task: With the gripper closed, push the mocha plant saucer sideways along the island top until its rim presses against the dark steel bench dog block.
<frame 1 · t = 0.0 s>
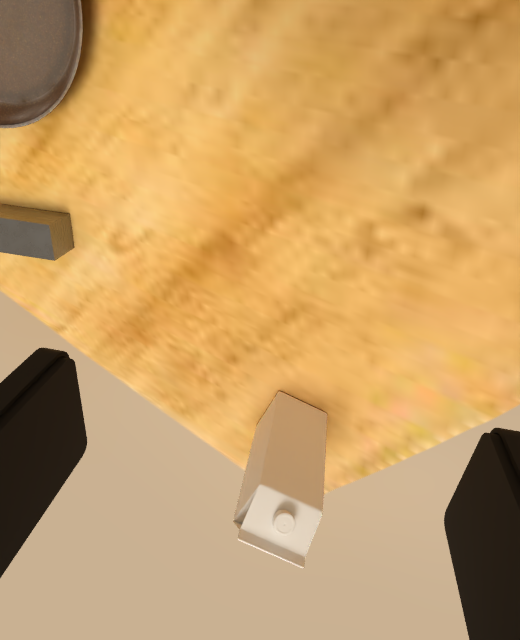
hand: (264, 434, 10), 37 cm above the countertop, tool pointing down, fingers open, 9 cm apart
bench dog: (31, 225, 50), on the countertop
milk carton: (291, 417, 59), on the countertop
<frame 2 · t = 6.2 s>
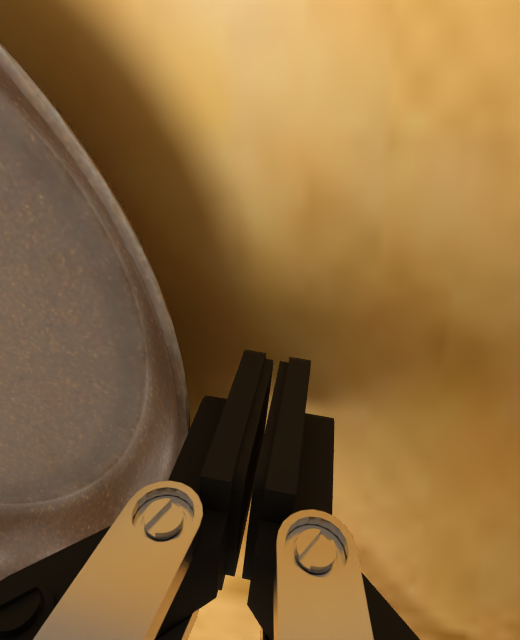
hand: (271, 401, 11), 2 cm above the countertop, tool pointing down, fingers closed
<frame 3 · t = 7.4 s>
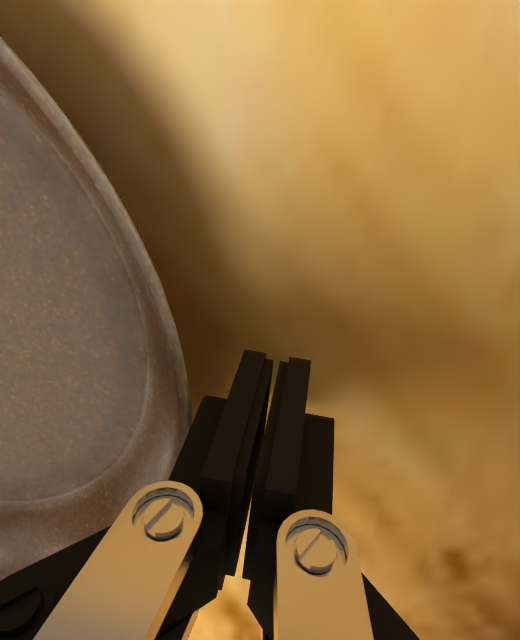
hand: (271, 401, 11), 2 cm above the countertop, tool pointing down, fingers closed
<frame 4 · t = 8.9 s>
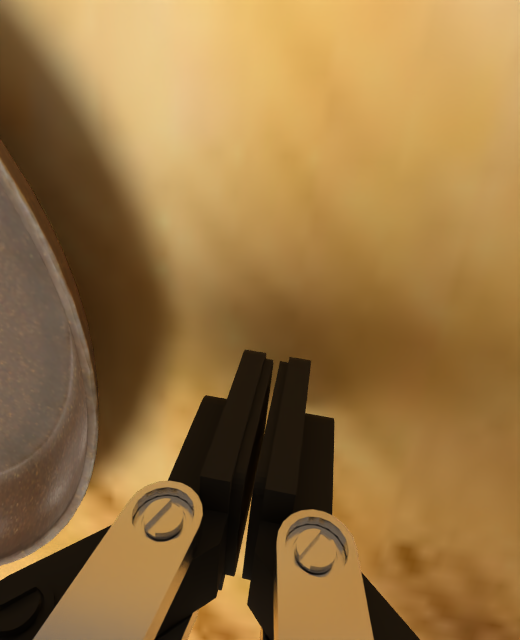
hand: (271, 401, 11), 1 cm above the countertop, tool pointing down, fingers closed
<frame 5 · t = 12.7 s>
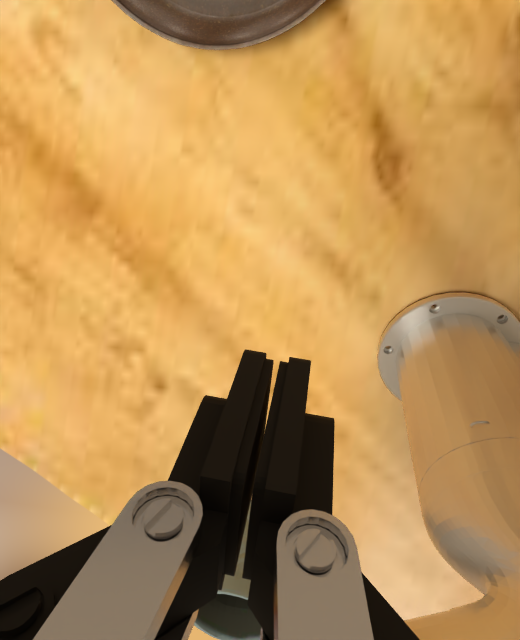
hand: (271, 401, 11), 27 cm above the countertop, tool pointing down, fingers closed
drinking glass: (251, 519, 57), on the countertop
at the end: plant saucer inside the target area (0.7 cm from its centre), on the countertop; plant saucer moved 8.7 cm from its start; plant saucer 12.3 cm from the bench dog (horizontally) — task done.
